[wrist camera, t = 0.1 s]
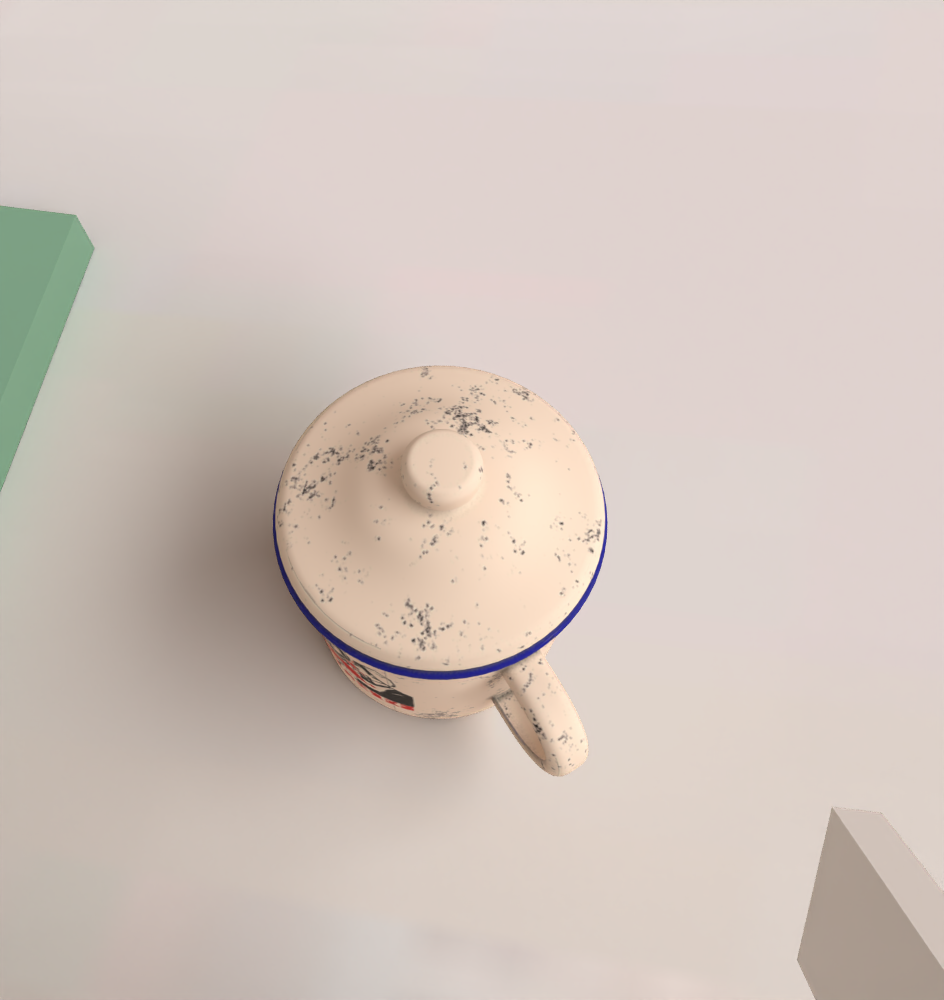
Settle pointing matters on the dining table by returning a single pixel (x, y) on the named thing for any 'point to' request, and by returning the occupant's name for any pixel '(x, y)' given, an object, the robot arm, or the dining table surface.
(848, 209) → the dining table surface
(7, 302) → the green slab with pocket
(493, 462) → the teacup with lid
